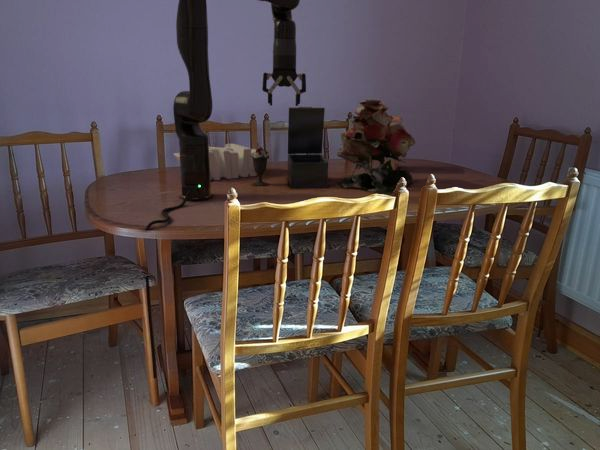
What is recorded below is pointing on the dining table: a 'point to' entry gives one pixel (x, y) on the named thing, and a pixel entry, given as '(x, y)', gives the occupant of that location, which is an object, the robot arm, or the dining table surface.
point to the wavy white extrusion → (229, 161)
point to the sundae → (260, 164)
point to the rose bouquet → (375, 148)
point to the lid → (305, 130)
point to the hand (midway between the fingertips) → (284, 105)
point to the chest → (307, 171)
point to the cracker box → (394, 162)
